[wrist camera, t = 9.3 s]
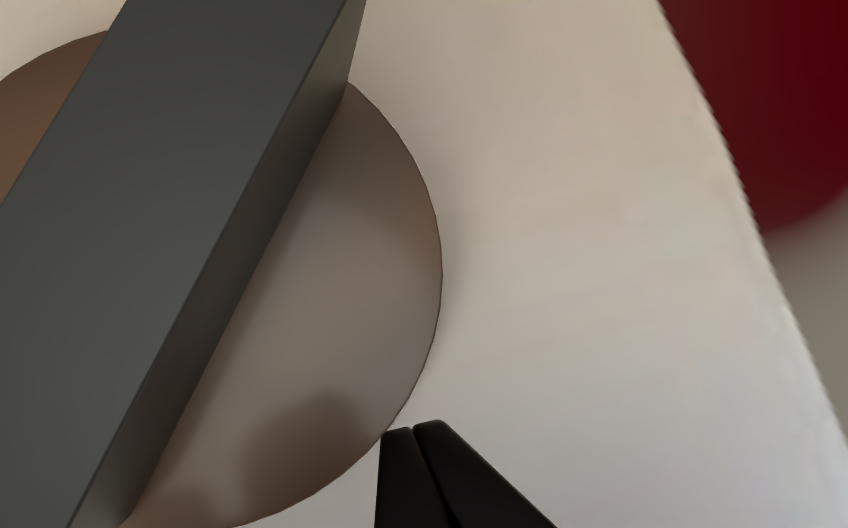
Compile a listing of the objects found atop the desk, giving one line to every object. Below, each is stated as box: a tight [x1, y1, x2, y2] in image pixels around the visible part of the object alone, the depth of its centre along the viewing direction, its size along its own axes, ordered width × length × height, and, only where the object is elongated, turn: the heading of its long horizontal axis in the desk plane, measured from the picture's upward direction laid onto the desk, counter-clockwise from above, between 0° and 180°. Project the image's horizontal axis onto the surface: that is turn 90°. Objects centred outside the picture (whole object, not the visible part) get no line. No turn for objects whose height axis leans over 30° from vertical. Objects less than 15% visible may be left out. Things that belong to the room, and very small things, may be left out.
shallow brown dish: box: [0, 30, 443, 528], centre depth 18 cm, size 13×13×1 cm
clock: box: [0, 0, 366, 528], centre depth 14 cm, size 3×12×7 cm, turn 156°
